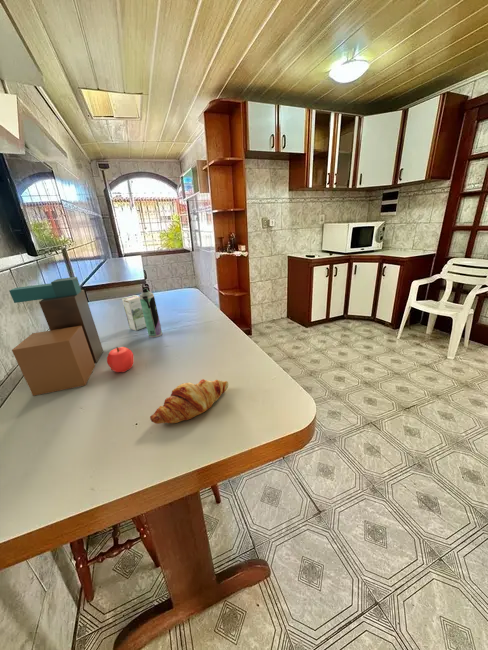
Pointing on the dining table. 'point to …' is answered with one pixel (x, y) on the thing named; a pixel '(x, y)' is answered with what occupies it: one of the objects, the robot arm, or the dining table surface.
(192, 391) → the croissant
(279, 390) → the dining table surface
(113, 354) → the apple
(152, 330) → the spray can
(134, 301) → the syrup box
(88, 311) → the stand
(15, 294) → the teal stepped bar
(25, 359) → the carton
